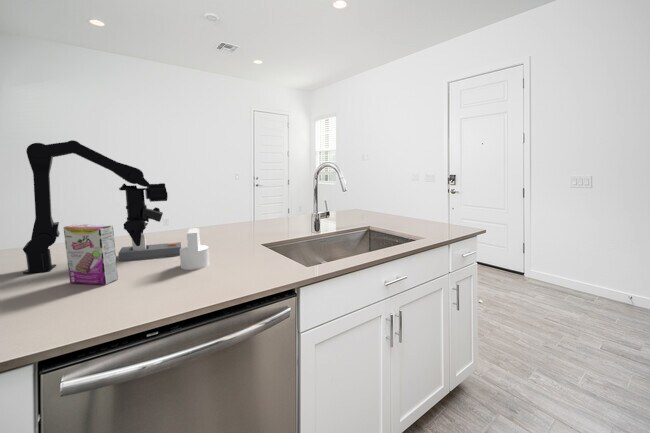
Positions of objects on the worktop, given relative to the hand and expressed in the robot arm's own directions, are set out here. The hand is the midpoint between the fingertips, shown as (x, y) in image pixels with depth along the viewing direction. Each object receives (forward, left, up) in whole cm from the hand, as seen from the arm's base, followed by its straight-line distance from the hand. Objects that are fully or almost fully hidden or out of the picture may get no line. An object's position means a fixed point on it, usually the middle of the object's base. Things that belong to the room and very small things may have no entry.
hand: (139, 244), depth 115 cm
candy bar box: (-26, +9, -5) cm, 28 cm away
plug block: (0, 0, -4) cm, 4 cm away
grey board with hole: (0, -7, -4) cm, 8 cm away
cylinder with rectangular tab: (-21, -18, -5) cm, 28 cm away
